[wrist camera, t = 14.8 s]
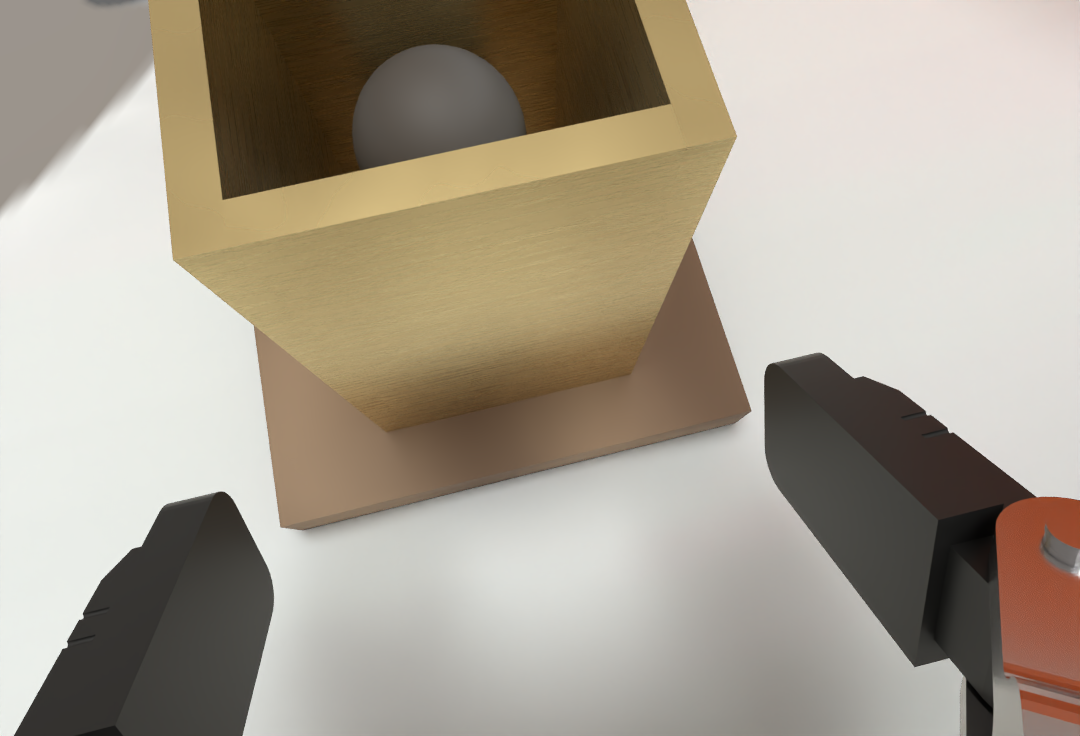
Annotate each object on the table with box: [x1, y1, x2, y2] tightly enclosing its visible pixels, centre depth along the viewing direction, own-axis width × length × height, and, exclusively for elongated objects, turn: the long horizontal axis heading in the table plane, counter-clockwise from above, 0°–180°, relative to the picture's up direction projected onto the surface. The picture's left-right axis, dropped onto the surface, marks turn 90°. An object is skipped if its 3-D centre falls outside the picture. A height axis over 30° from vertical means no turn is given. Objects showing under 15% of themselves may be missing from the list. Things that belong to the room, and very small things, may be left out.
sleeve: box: [148, 0, 737, 432], centre depth 13 cm, size 6×6×10 cm
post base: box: [254, 44, 751, 530], centre depth 15 cm, size 12×10×10 cm
